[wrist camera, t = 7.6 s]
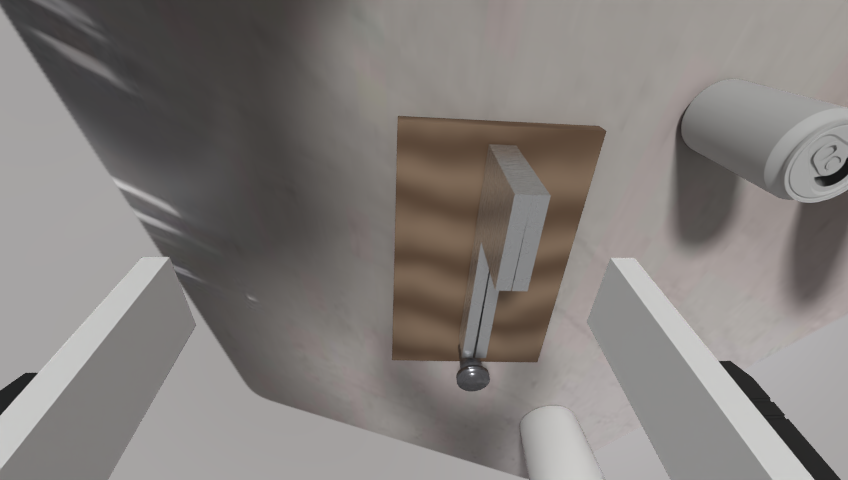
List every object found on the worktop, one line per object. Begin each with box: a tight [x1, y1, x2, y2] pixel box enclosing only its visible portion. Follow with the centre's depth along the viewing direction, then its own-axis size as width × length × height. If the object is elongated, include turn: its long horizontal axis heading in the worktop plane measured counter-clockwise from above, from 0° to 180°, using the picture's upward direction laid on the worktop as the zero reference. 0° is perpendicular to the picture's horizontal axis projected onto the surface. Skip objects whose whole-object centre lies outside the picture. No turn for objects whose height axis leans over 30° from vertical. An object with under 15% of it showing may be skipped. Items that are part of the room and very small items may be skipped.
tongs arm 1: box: [459, 144, 533, 358], centre depth 36 cm, size 23×1×10 cm, turn 176°
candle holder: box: [520, 405, 605, 480], centre depth 54 cm, size 10×10×12 cm
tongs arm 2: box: [474, 145, 551, 358], centre depth 37 cm, size 23×1×10 cm, turn 177°
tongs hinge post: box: [456, 343, 490, 391], centre depth 46 cm, size 4×4×5 cm
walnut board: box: [392, 116, 606, 362], centre depth 43 cm, size 29×18×2 cm, turn 177°
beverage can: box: [681, 79, 848, 203], centre depth 31 cm, size 6×6×12 cm
